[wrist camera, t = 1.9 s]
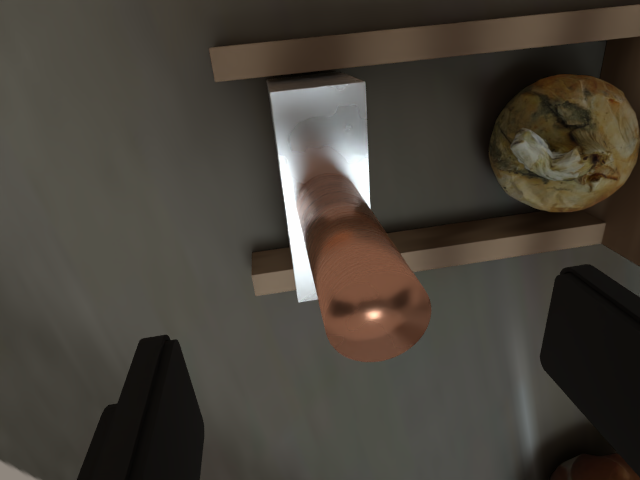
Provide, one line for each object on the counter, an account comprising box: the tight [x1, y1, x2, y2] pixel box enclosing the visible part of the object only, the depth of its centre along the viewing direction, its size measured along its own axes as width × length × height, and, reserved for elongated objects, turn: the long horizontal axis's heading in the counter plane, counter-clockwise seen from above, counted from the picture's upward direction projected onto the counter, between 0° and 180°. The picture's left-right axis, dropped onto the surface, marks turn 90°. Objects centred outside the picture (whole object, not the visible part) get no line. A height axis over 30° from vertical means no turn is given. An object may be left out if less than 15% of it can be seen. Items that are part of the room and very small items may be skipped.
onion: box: [489, 74, 640, 212], centre depth 24 cm, size 8×8×8 cm
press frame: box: [209, 4, 640, 296], centre depth 23 cm, size 25×14×7 cm, turn 95°
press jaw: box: [266, 71, 431, 362], centre depth 18 cm, size 4×10×15 cm, turn 5°
